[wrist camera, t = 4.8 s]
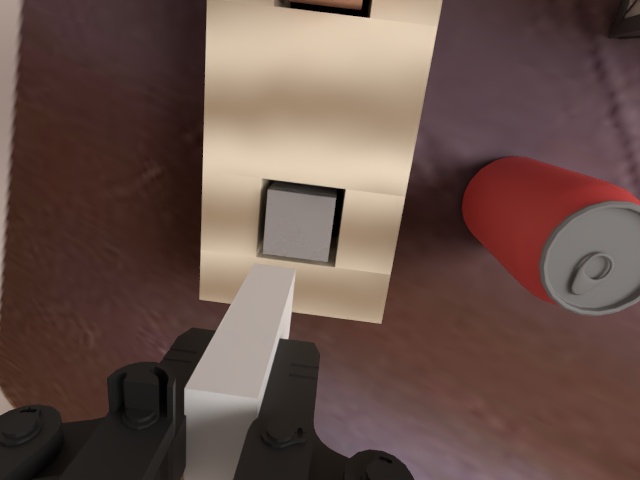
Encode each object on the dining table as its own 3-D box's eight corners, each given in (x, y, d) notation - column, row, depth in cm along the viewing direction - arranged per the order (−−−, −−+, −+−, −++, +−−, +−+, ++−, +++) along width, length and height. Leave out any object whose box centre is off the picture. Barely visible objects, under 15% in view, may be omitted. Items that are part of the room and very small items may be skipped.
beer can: (441, 216, 30) (499, 284, 19) (496, 137, 28) (599, 160, 17) (513, 259, 31) (610, 349, 20) (572, 184, 29) (719, 237, 18)
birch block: (243, -141, 24) (212, -215, 18) (446, -117, 24) (477, -185, 18) (224, 265, 33) (199, 299, 27) (374, 284, 32) (381, 323, 27)
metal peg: (282, 172, 29) (267, 189, 24) (337, 179, 29) (336, 198, 24) (277, 225, 31) (262, 253, 25) (330, 232, 31) (327, 262, 25)
